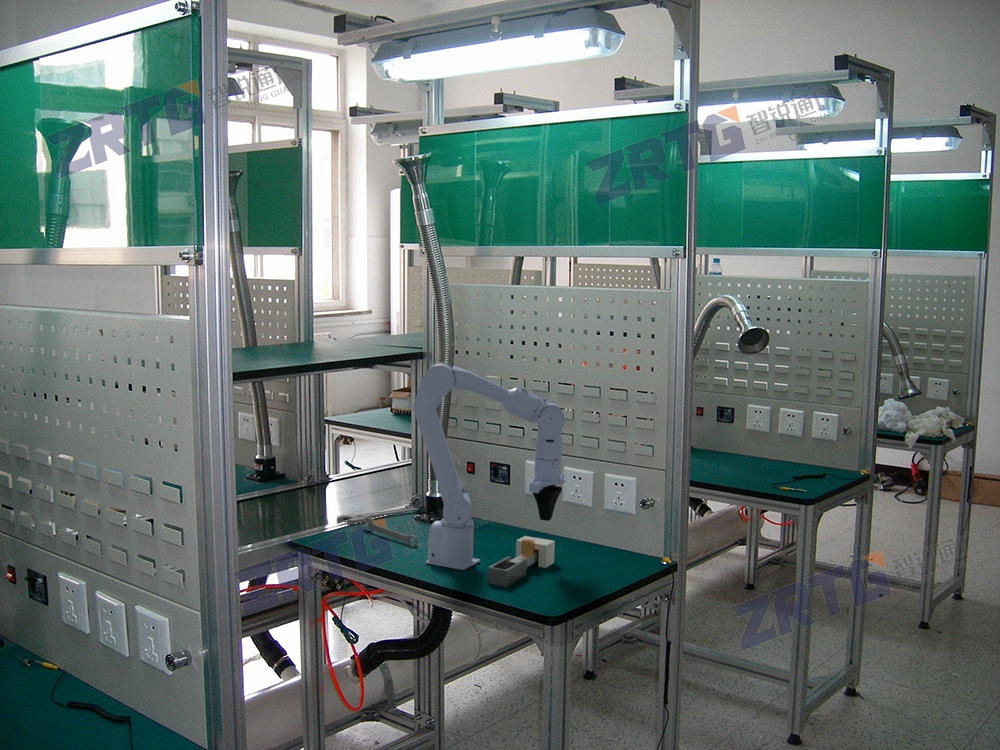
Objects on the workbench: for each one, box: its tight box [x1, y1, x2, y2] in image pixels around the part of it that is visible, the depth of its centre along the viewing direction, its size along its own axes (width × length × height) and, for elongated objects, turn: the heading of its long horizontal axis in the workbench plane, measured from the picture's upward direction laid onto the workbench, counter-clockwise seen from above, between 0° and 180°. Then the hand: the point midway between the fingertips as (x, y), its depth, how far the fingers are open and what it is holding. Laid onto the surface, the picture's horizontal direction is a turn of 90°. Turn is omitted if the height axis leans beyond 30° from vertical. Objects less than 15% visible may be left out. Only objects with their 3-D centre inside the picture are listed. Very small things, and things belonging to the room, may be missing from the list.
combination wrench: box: [361, 517, 419, 547], centre depth 219 cm, size 4×1×20 cm
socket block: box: [515, 535, 556, 569], centre depth 203 cm, size 7×4×5 cm, turn 64°
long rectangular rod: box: [508, 539, 539, 568], centre depth 198 cm, size 2×12×5 cm, turn 153°
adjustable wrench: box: [336, 506, 419, 525], centre depth 239 cm, size 25×6×2 cm, turn 127°
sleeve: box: [486, 555, 528, 588], centre depth 191 cm, size 4×10×3 cm, turn 154°
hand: (545, 519), depth 200 cm, fingers closed
